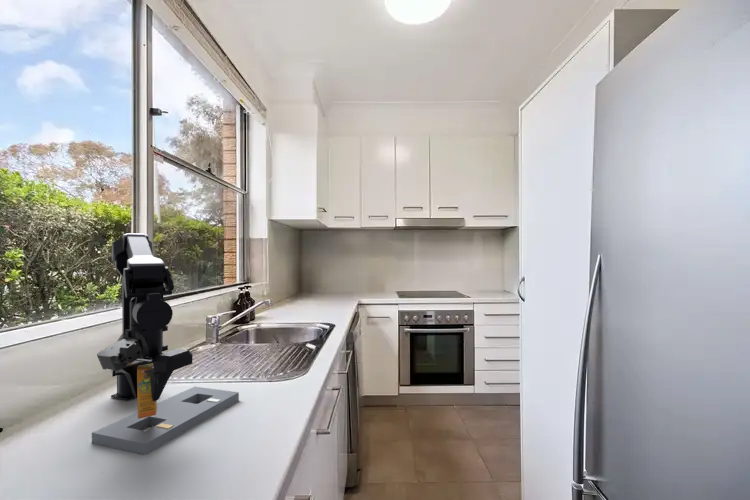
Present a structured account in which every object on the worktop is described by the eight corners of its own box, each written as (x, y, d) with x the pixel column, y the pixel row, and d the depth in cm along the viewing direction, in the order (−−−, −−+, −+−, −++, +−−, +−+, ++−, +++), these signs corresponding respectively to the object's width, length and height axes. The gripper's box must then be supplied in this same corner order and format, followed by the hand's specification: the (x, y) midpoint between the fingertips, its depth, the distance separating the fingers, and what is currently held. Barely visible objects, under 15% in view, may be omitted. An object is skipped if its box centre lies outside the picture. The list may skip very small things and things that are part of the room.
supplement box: (136, 419, 70) (135, 369, 70) (138, 413, 73) (137, 364, 73) (156, 415, 71) (155, 366, 71) (157, 409, 74) (156, 362, 74)
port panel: (91, 443, 68) (91, 431, 68) (194, 394, 92) (194, 385, 92) (145, 454, 64) (145, 442, 64) (238, 400, 88) (238, 391, 88)
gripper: (71, 328, 68) (71, 409, 67) (143, 334, 62) (143, 423, 61) (128, 318, 78) (128, 388, 78) (194, 322, 72) (194, 398, 72)
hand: (146, 399), depth 72 cm, fingers closed on supplement box, 4 cm apart
